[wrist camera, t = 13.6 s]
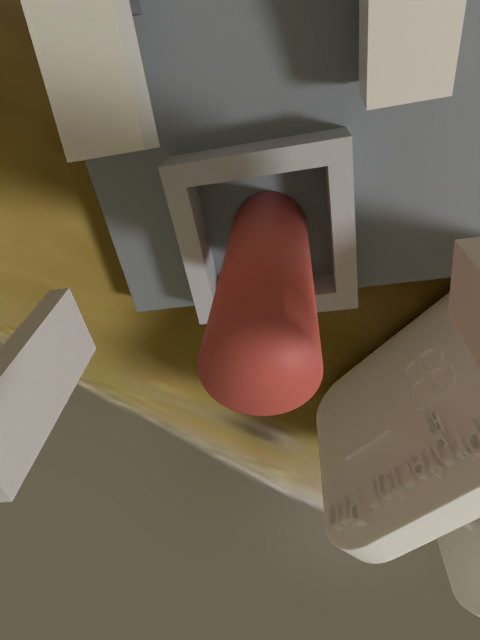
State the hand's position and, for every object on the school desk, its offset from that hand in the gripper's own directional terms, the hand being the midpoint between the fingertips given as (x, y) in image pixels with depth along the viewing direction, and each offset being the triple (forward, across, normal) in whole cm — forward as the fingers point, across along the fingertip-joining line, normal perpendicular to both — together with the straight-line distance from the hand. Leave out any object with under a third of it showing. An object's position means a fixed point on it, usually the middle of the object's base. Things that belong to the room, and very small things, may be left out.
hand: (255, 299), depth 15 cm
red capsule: (+8, 0, -1) cm, 8 cm away
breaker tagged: (+6, -5, +9) cm, 12 cm away
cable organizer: (+9, +10, -12) cm, 18 cm away
